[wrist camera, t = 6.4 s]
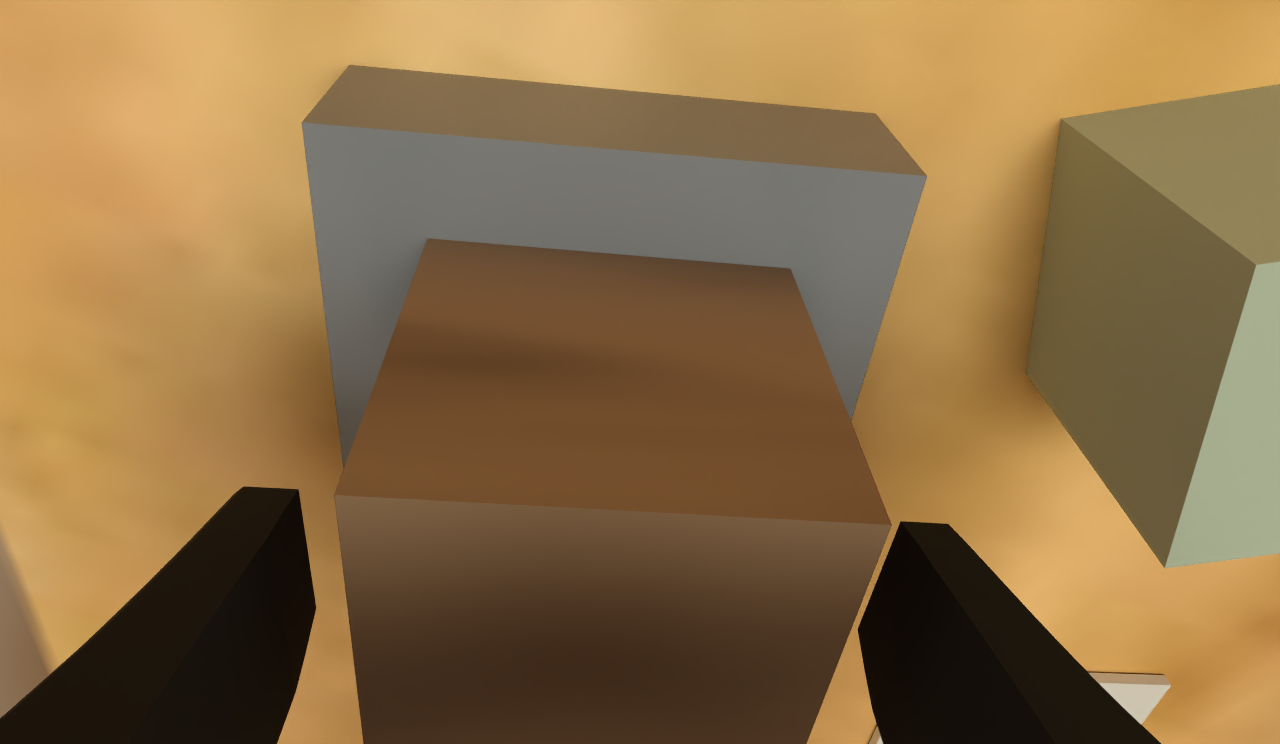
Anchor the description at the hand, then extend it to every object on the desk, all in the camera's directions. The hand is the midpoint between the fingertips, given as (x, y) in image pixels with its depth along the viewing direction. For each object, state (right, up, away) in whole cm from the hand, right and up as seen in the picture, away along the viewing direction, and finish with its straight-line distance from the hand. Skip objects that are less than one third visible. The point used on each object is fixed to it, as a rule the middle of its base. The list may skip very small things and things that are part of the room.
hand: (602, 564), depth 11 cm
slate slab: (0, +4, +5) cm, 6 cm away
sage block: (+10, +5, +4) cm, 12 cm away
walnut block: (0, +2, +3) cm, 3 cm away
